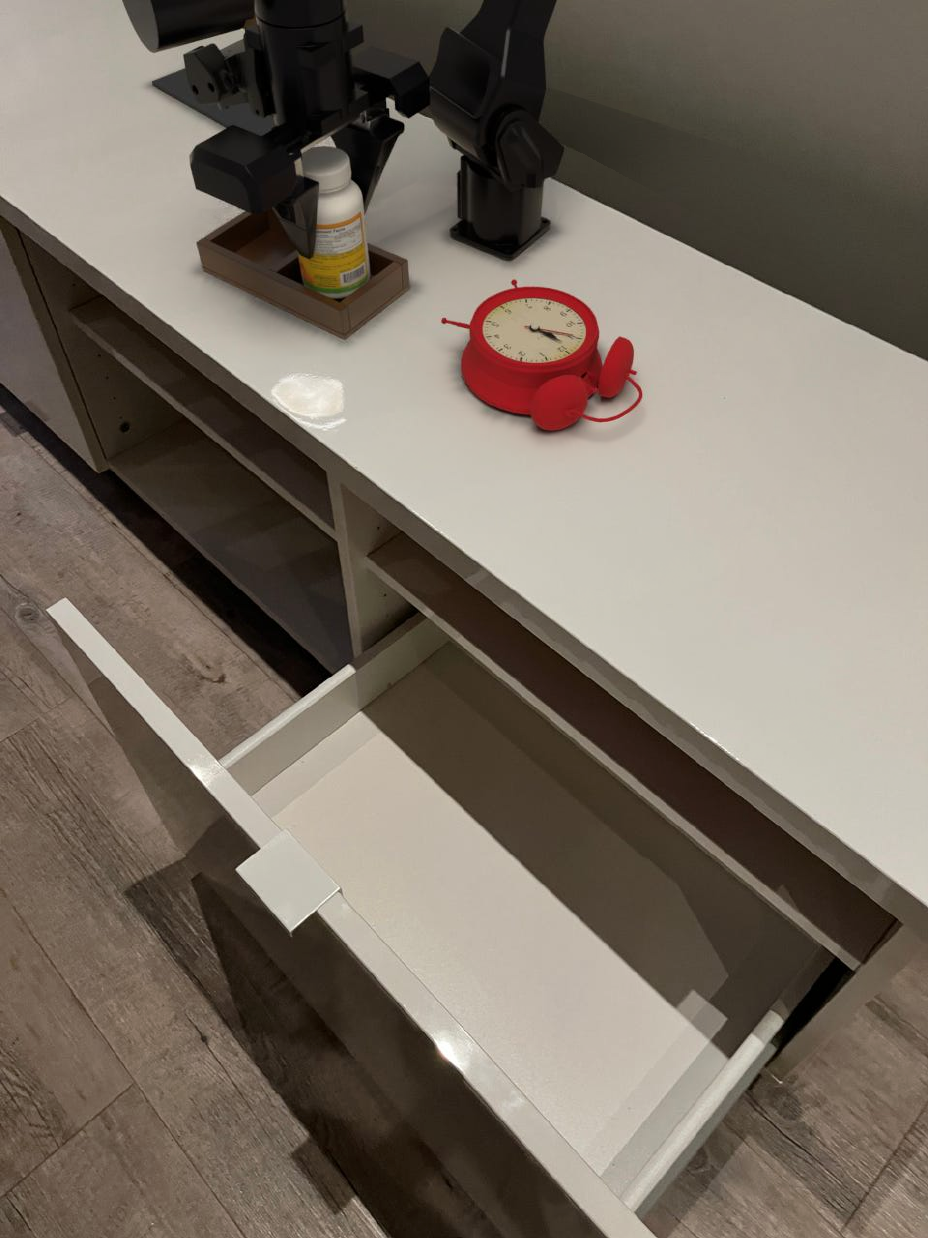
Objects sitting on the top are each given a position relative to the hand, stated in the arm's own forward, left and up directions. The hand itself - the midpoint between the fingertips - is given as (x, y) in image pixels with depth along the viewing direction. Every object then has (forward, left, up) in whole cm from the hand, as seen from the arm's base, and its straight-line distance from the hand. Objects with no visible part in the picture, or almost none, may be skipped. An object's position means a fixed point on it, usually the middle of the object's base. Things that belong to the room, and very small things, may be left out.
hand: (331, 238), depth 70 cm
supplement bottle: (0, 0, -4) cm, 4 cm away
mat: (+30, -20, -5) cm, 36 cm away
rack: (+4, 0, -5) cm, 6 cm away
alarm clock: (-19, -1, -5) cm, 20 cm away
